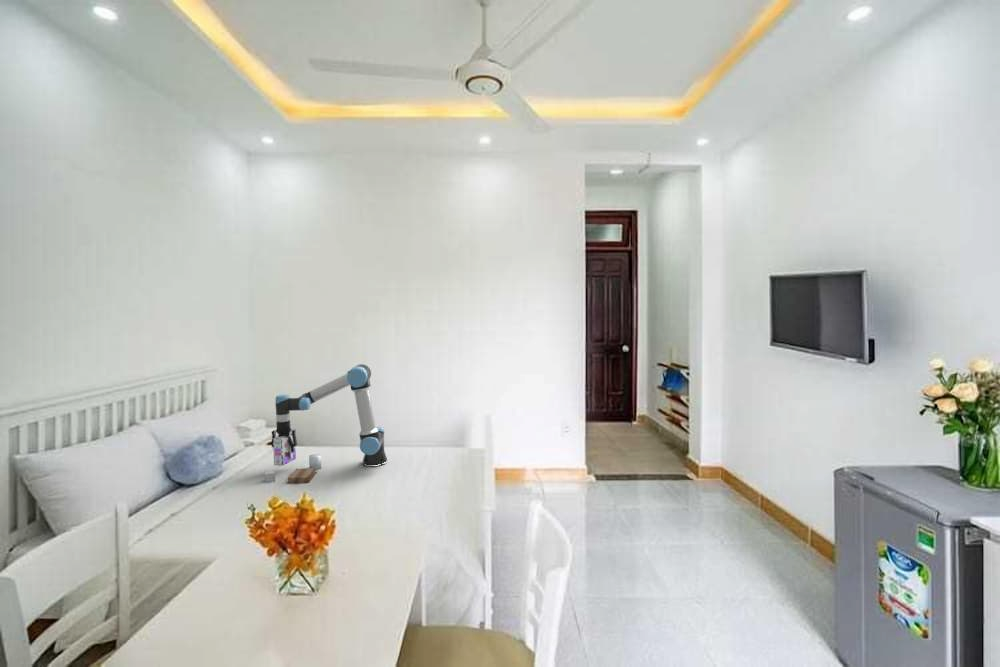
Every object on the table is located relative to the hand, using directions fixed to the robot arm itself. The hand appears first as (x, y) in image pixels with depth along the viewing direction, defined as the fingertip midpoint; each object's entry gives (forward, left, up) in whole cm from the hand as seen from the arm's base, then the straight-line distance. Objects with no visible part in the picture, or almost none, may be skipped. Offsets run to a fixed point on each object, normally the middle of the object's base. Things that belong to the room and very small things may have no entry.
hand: (285, 458), depth 307 cm
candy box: (0, 0, -3) cm, 3 cm away
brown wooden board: (-13, +12, -8) cm, 20 cm away
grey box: (+4, +15, -9) cm, 18 cm away
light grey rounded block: (-16, -5, -9) cm, 19 cm away
